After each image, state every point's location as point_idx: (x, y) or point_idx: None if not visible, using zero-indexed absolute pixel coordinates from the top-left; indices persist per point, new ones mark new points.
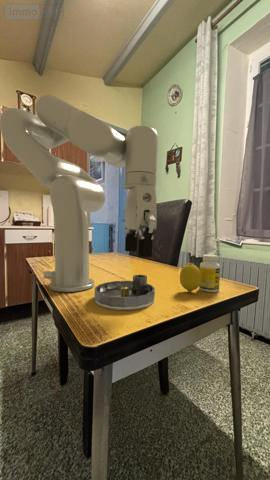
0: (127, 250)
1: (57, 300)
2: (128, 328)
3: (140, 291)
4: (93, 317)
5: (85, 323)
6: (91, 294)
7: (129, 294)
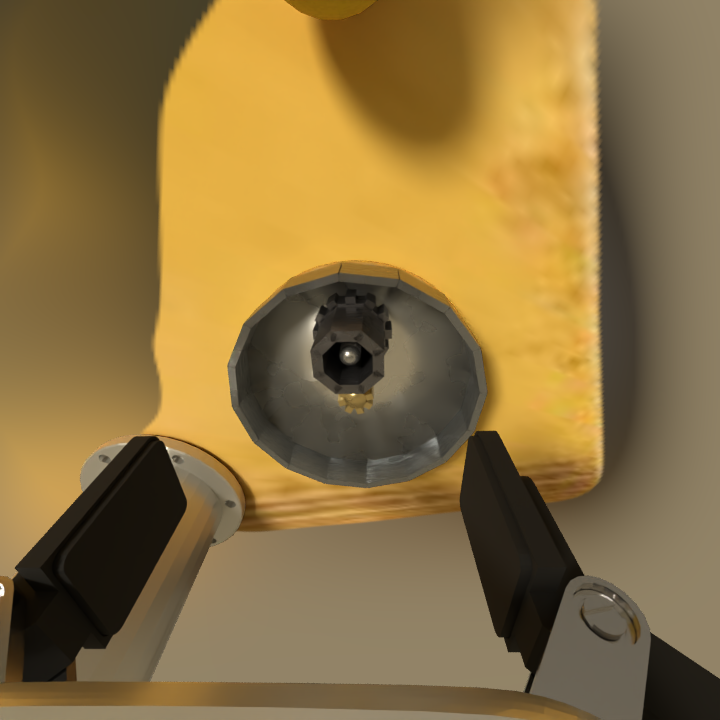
0: (183, 501)
1: (313, 524)
2: (576, 419)
3: (384, 339)
4: None
5: None
6: None
7: None
